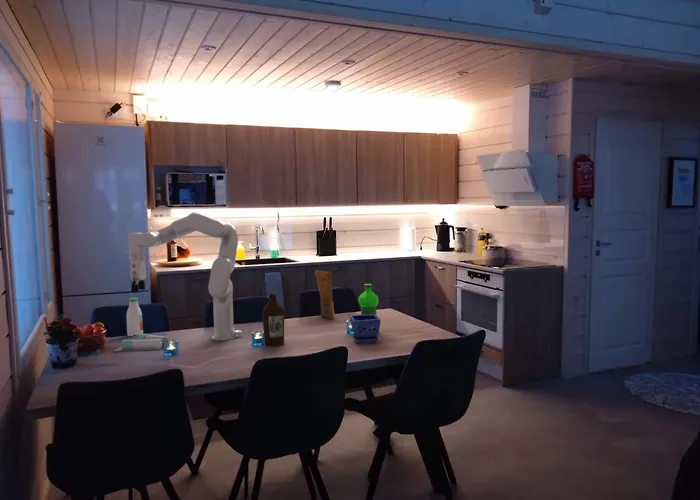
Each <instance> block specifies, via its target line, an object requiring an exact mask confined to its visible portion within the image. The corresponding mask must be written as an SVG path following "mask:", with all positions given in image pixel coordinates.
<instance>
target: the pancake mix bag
mask: <svg viewBox="0 0 700 500" xmlns="http://www.w3.org/2000/svg"><path fill="white" fill-rule="evenodd" d="M314 275H315V278H316V281H317V286H318V289H319V295H320V296H319V297H320V316H321V317H323V318H325V319H328V320H329V319H331V320H332V319H334V318H335V310H334V308H335V307H334V300H333V287H332V272H330V271H327V270H318V269H316V270H315V271H314Z"/></svg>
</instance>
